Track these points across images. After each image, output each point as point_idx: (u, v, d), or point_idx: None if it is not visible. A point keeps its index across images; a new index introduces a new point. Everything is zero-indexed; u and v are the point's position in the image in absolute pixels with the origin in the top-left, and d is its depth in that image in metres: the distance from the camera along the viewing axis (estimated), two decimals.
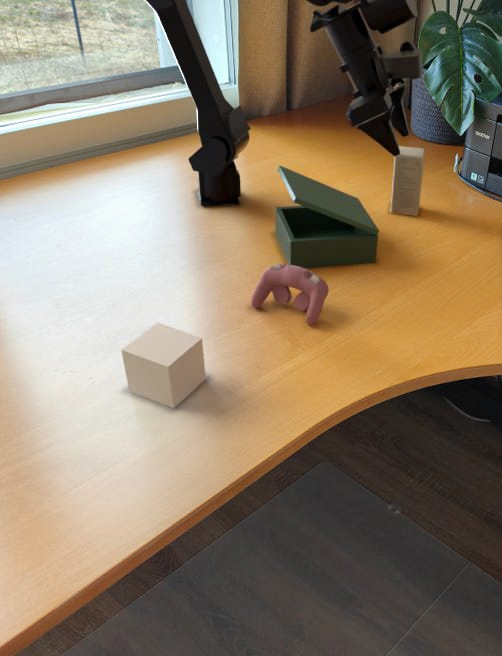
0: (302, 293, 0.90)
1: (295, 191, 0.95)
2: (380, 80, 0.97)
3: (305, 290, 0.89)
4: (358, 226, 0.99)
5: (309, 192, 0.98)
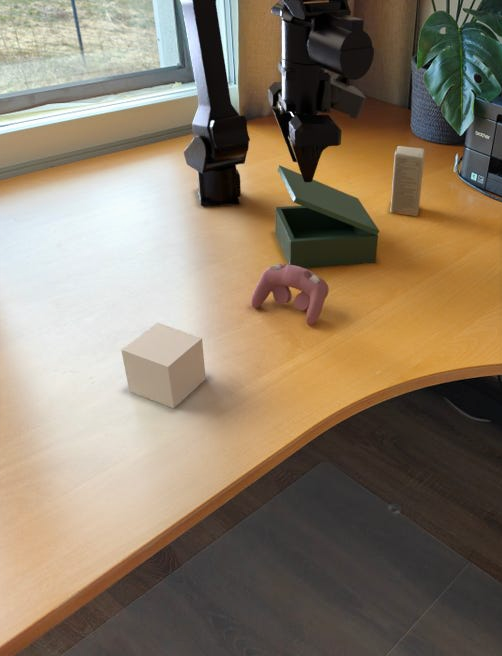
0: (302, 293, 0.90)
1: (295, 191, 0.95)
2: (323, 105, 0.89)
3: (305, 290, 0.89)
4: (358, 226, 0.99)
5: (309, 192, 0.98)
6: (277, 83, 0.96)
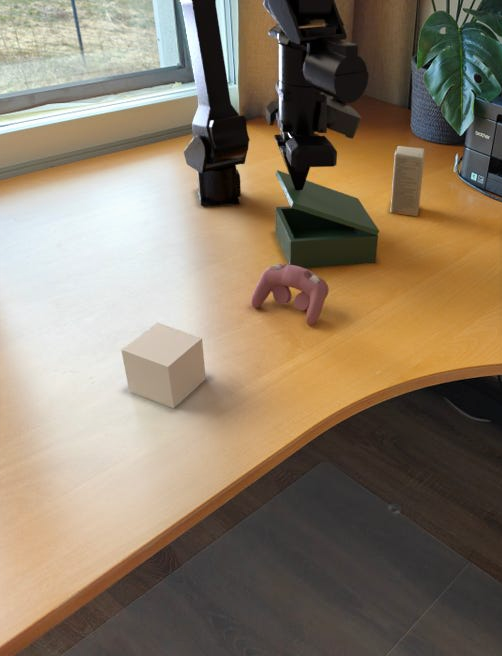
0: (302, 293, 0.90)
1: (293, 196, 0.95)
2: (319, 125, 0.91)
3: (305, 290, 0.89)
4: (357, 227, 0.99)
5: (307, 196, 0.98)
6: (274, 102, 0.98)
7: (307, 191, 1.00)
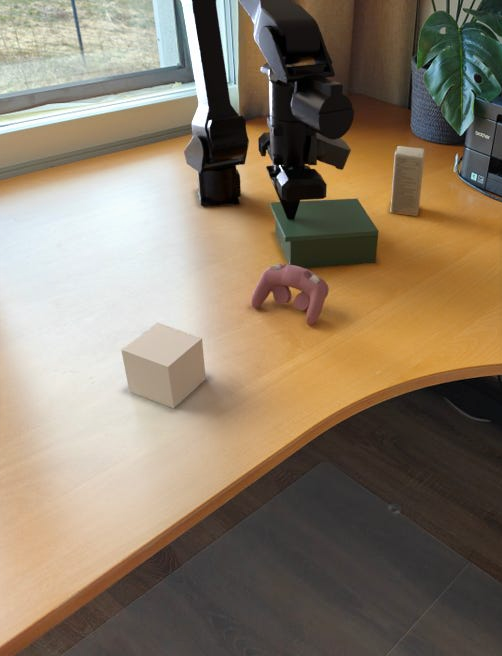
0: (302, 293, 0.90)
1: (285, 228, 0.98)
2: (309, 158, 0.93)
3: (305, 290, 0.89)
4: (356, 235, 1.00)
5: (300, 222, 1.00)
6: (266, 134, 1.00)
7: (301, 215, 1.02)
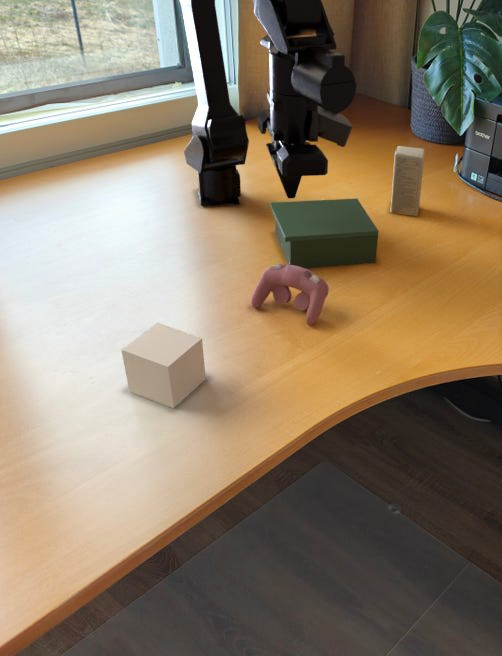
0: (302, 293, 0.90)
1: (285, 228, 0.98)
2: (310, 134, 0.91)
3: (305, 290, 0.89)
4: (356, 235, 1.00)
5: (300, 222, 1.00)
6: (266, 111, 0.98)
7: (301, 215, 1.02)
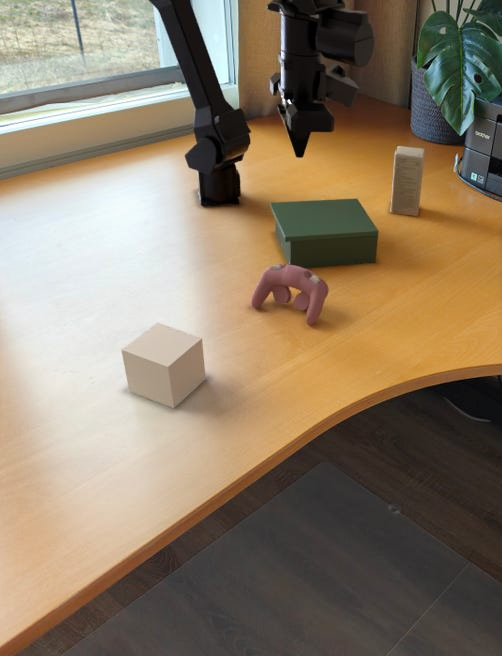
0: (302, 293, 0.90)
1: (285, 228, 0.98)
2: (318, 94, 0.96)
3: (305, 290, 0.89)
4: (356, 235, 1.00)
5: (300, 222, 1.00)
6: (278, 74, 1.03)
7: (301, 215, 1.02)
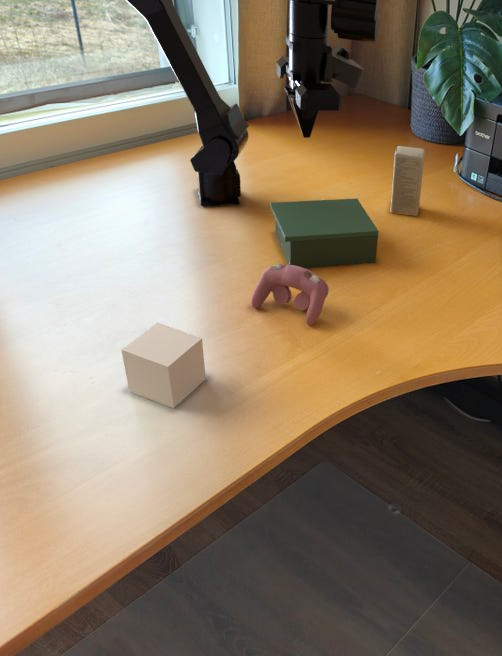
0: (302, 293, 0.90)
1: (285, 228, 0.98)
2: (325, 75, 1.01)
3: (305, 290, 0.89)
4: (356, 235, 1.00)
5: (300, 222, 1.00)
6: (284, 57, 1.07)
7: (301, 215, 1.02)
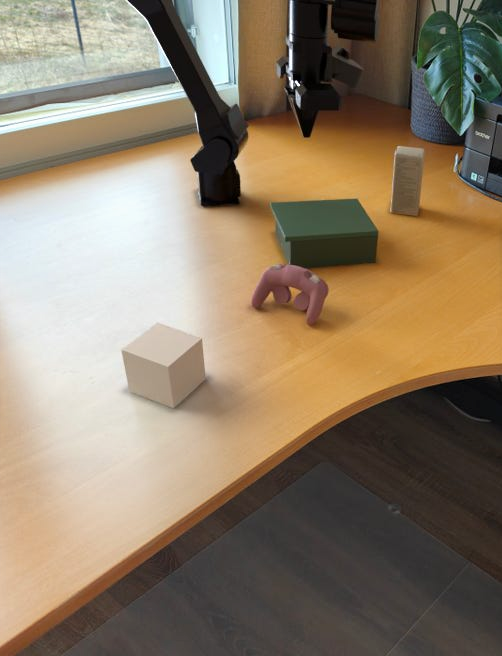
0: (302, 293, 0.90)
1: (285, 228, 0.98)
2: (325, 75, 1.01)
3: (305, 290, 0.89)
4: (356, 235, 1.00)
5: (300, 222, 1.00)
6: (284, 57, 1.07)
7: (301, 215, 1.02)
